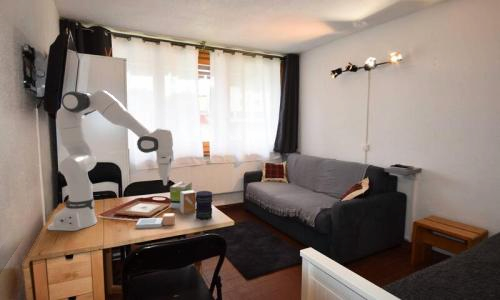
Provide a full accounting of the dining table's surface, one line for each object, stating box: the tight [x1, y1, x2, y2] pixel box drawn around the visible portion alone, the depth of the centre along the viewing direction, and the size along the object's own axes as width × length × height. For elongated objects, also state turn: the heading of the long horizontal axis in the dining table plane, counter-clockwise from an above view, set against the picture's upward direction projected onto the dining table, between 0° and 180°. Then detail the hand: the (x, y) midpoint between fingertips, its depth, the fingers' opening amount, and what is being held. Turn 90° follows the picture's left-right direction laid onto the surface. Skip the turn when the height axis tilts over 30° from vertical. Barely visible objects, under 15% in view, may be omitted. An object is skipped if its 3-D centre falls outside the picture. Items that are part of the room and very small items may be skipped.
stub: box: [162, 212, 176, 226], centre depth 151 cm, size 6×5×5 cm
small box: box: [179, 189, 196, 215], centre depth 171 cm, size 8×6×13 cm
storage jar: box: [195, 190, 213, 221], centre depth 162 cm, size 10×10×15 cm
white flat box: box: [135, 217, 163, 229], centre depth 150 cm, size 13×9×2 cm
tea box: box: [169, 181, 193, 209], centre depth 184 cm, size 15×10×15 cm, turn 172°
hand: (166, 182), depth 149 cm, fingers open, 8 cm apart
